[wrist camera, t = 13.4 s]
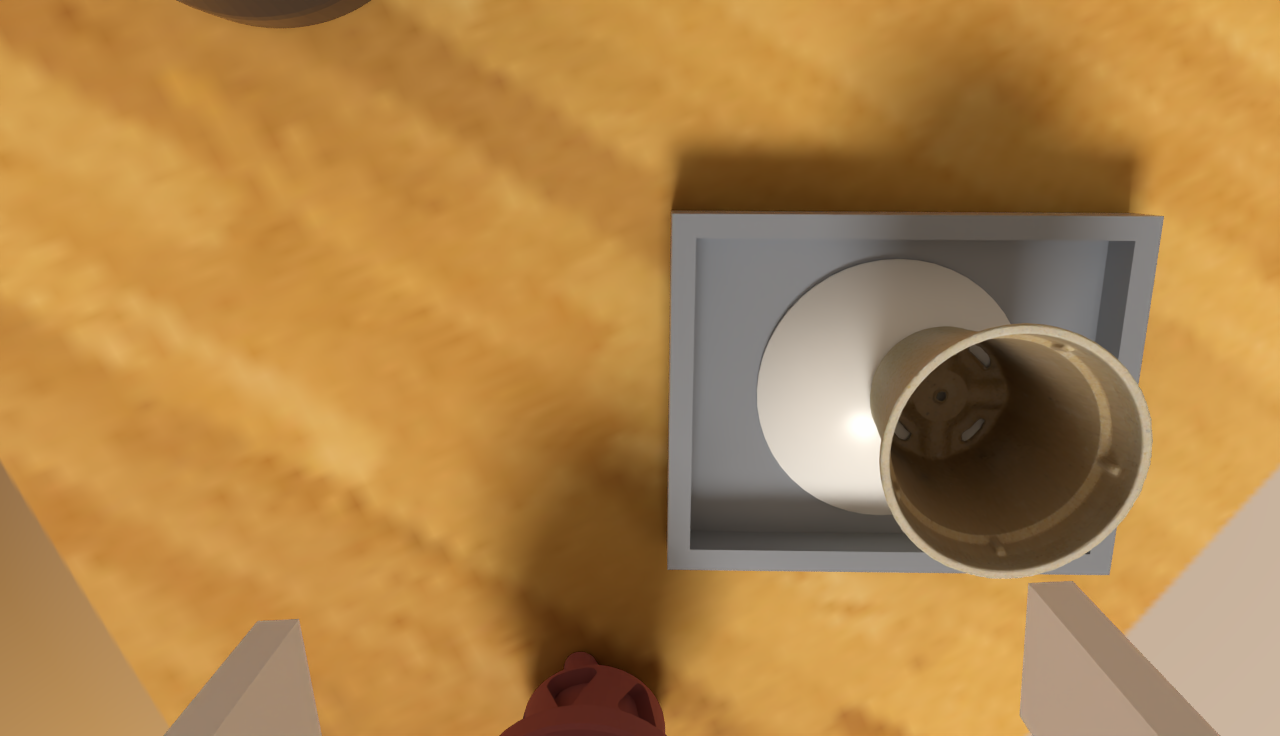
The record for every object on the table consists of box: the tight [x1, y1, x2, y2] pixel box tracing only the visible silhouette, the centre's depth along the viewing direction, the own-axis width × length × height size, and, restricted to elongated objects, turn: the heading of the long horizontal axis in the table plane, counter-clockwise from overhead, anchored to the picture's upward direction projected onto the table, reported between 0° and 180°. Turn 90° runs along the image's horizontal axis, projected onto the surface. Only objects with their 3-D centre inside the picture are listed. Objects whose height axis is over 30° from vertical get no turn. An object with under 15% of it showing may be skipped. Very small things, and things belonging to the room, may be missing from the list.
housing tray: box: [667, 211, 1164, 575], centre depth 37 cm, size 16×20×2 cm
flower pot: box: [870, 323, 1153, 579], centre depth 33 cm, size 9×9×9 cm
